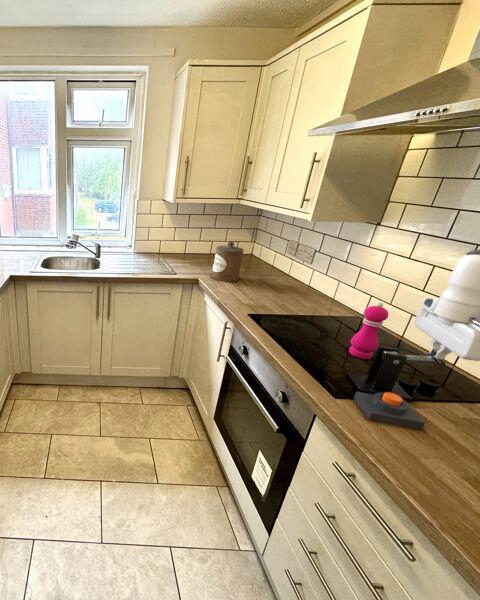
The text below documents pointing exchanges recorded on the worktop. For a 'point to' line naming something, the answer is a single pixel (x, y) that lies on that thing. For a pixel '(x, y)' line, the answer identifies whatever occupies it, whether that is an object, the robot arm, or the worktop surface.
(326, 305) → the worktop surface
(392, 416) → the button block
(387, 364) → the bracket
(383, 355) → the lever
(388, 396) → the button
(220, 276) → the wooden container
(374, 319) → the pepper mill
